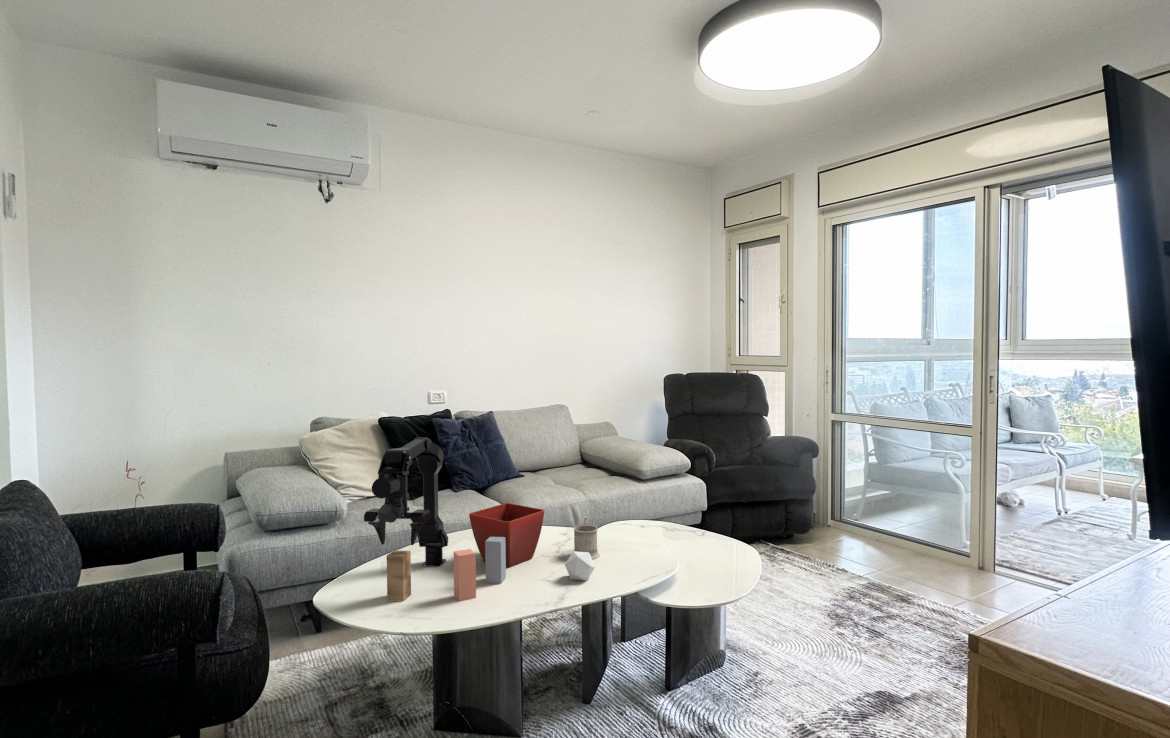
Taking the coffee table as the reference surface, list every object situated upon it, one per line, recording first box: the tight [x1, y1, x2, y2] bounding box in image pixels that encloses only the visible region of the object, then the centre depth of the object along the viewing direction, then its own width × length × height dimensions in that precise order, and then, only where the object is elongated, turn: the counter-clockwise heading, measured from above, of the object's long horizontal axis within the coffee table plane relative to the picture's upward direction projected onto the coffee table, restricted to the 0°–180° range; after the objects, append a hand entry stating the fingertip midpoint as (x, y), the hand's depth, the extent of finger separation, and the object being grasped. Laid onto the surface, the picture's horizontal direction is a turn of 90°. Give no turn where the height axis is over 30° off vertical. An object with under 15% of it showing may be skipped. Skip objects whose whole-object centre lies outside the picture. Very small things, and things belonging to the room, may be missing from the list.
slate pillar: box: [484, 537, 507, 585], centre depth 190 cm, size 5×5×13 cm
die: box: [564, 550, 596, 582], centre depth 191 cm, size 8×9×10 cm
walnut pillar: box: [386, 549, 412, 602], centre depth 177 cm, size 5×5×13 cm
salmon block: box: [453, 548, 477, 602], centre depth 177 cm, size 5×5×13 cm
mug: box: [573, 516, 601, 561], centre depth 216 cm, size 14×10×12 cm
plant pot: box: [468, 502, 545, 568], centre depth 210 cm, size 19×19×17 cm
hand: (397, 544), depth 179 cm, fingers open, 9 cm apart
